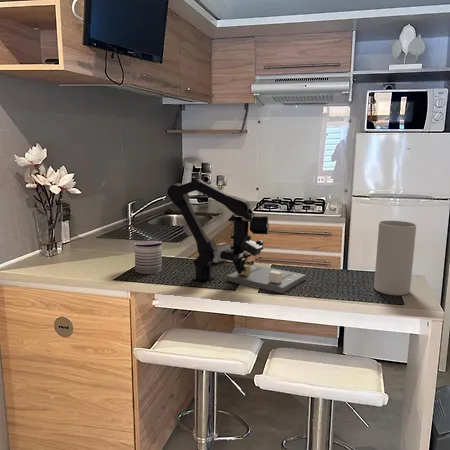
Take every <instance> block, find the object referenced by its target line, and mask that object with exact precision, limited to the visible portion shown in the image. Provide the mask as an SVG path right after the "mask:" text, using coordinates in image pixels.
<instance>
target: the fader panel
mask: <svg viewBox="0 0 450 450" xmlns="http://www.w3.org/2000/svg"><path fill="white" fill-rule="evenodd" d="M272 270H274V271H279V272H283V273H282V282H280V283H274V282H270V281H269V272H270V271H272ZM306 278H307V274H304V273H300V272H299V273H298V272H294V271H288V270H283V269H277V268H272V267H268V266H262V265H256V264H251V265H250V275H248V276H243V275H238V274H237V271H234V272H232V273H230V274H226V281H227V282H231V283H234V284H235V283H236V284H239V285H243V286H249V287H253V288H256V289H257V288H258V289H262V290H265V291H272V292H276V293H280V294H283V293H285V292H287V291H289V290H290V289H292V288H294V287H295V286H297V285H299V284H301V283H303V282H305V281H306V280H307V279H306Z"/></svg>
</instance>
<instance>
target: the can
mask: <svg viewBox="0 0 450 450" xmlns="http://www.w3.org/2000/svg"><path fill="white" fill-rule="evenodd" d="M162 243H163V242H162V240H142V241H135V242H134V243H133V245H134V271H135V272H136V273H138V272H139V274H147V275H148V274H150V275H151V274H157V273H160V272H161V271H163V254H162V253H163V252H162V251H163V248H162V247H163V245H162Z"/></svg>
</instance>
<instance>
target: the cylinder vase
mask: <svg viewBox="0 0 450 450" xmlns="http://www.w3.org/2000/svg"><path fill="white" fill-rule="evenodd" d="M377 231H378V232H377V244H376V254H375V255H376V257H375V258H376V259H375V271H374V281H373V282H374V283H373V288H374V289H375V291H376V292H378V293H380V294H384V295H389V296H405V295H408V294H409V293H411V285H412V284H411V283H412V275H413V265H414V264H413V263H414V253H415V245H416V244H415V243H416V232H417V224H416V223H414V222H409V221H402V220H381V221H379V222H378V230H377Z"/></svg>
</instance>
